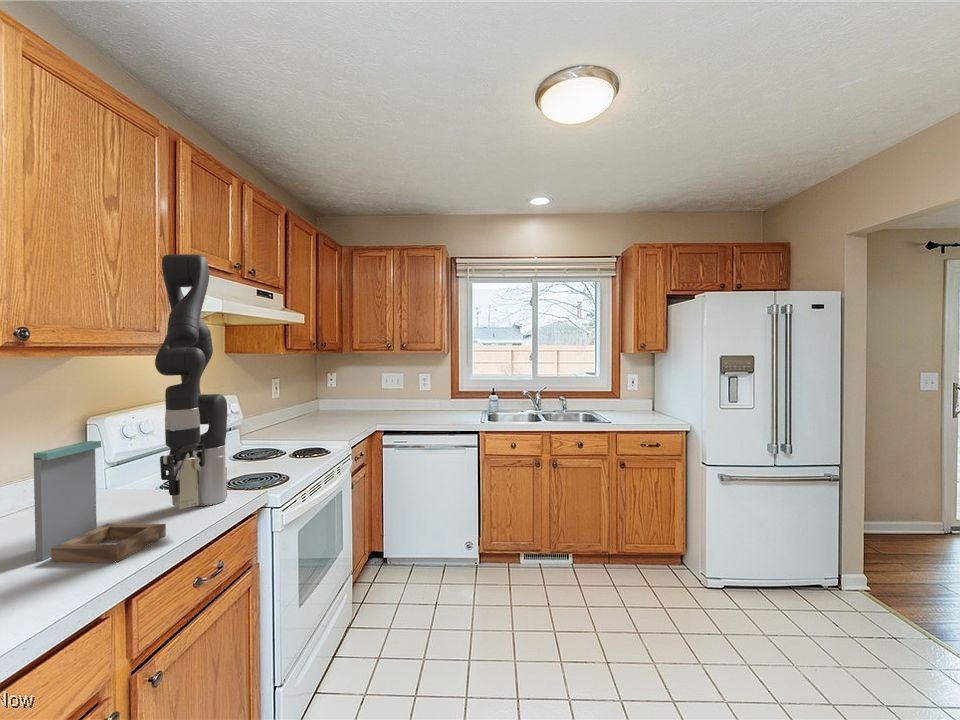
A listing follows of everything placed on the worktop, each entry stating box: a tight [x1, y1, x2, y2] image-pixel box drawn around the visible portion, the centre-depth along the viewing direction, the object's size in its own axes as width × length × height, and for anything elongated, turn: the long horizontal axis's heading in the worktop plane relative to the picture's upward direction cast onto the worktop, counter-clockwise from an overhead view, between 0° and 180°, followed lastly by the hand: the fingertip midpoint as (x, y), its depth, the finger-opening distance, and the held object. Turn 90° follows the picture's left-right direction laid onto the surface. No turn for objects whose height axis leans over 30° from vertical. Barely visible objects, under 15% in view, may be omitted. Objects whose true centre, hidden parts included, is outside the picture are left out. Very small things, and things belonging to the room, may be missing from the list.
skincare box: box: [171, 457, 198, 510], centre depth 119 cm, size 6×4×12 cm
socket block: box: [50, 522, 167, 563], centre depth 110 cm, size 15×15×3 cm
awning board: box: [33, 440, 102, 562], centre depth 110 cm, size 14×3×24 cm, turn 178°
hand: (184, 489), depth 119 cm, fingers closed on skincare box, 7 cm apart
